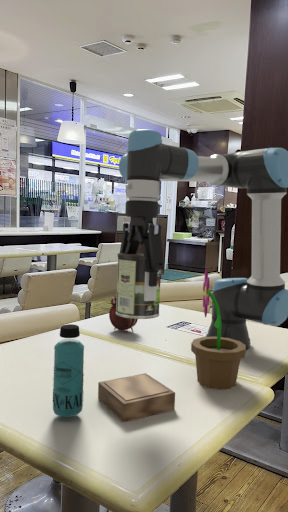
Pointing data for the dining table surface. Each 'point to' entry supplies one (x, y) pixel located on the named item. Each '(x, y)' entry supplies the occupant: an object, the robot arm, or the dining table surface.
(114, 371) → the dining table surface
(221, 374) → the flowerpot
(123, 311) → the coffee can
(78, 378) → the beverage bottle
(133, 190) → the robot arm
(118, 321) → the alarm clock
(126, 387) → the walnut base
